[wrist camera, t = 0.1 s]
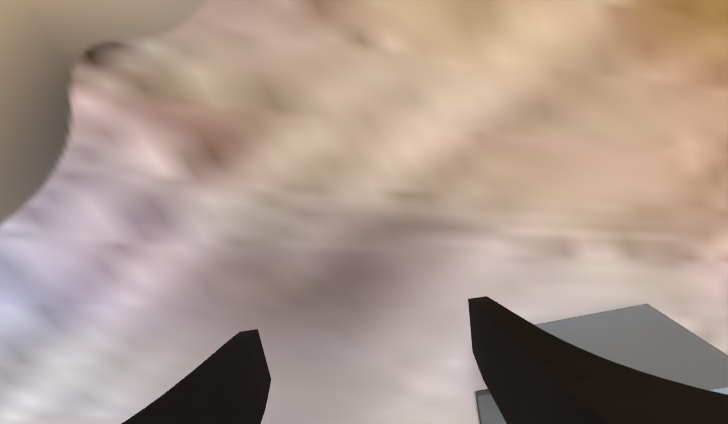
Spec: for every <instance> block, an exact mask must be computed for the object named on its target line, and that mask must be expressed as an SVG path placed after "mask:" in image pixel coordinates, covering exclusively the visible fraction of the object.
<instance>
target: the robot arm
mask: <svg viewBox="0 0 728 424" xmlns="http://www.w3.org/2000/svg"><path fill="white" fill-rule="evenodd" d="M468 302H469V314H470V326H471V338H472V349H473V354H474V356H475V359H476V362H477V364H478V367H479V370H480V372H481V375H482V377H483V380H484V382H485V384H486V385H487V387H488V389H489V391H490V393H491V395H492V397H493V399H494V401H495V403H496V405H497V406H498V408H499V410H500V412H501V414H502V416H503V418H504V420H505V422H506V423H507V424H728V394H723V393H719V392H714V391H710V390H705V389H701V388H697V387H693V386H690V385H686V384H682V383H679V382H675V381H671V380H668V379H664V378H661V377H658V376H654V375H651V374H648V373H645V372H642V371H639V370H636V369H633V368H630V367H627V366H624V365H621V364H619V363H616V362H613V361H610V360H608V359H605V358H603V357H600V356H598V355H595V354H593V353H591V352H588V351H586V350H583V349H581V348H579V347H576V346H574V345H572V344H570V343H568V342H566V341H564V340H562V339H560V338H558V337H556V336H554V335H552V334H550V333H548V332H546V331H544V330H542V329H541V328H539V327H537V326H535V325H533V324H532V323H530V322H528V321H526V320H525V319H523V318H521V317H520V316H518V315H516V314H515V313H513V312H511V311H510V310H508V309H507V308H505V307H503V306H502V305H500V304H499V303H497V302H495V301H494V300H492V299H490V298H488V297H487V296H486V297H479V298H472V299H468ZM270 383H271V377H270V373H269V370H268V366H267V362H266V359H265V355H264V351H263V347H262V344H261V340H260V336H259V333H258V329H257V330H250V331H243V332H239V333H238V334H237V335H235V336H234V337H233V338H231V339H230V340H229V341H228V342H227V343H225V344H224V345H223V346H222V347H221V348H219V349H218V350H217V351H216V352H215V353H214V354H212V355H211V356H210V357H209V358H208V359H207V360H205V361H204V362H203V363H202V364H201V365H200V366H198V367H197V368H196V369H195V370H194V371H192V372H191V373H190V374H189V375H187V376H186V377H185V378H184V379H182V380H181V381H180V382H179V383H177V384H176V385H175V386H174V387H172V388H171V389H170V390H169V391H167V392H166V393H165V394H163V395H162V396H161V397H159V398H158V399H157V400H155V401H154V402H153V403H151V404H150V405H148V406H147V407H146V408H144V409H143V410H141V411H140V412H138V413H137V414H135V415H134V416H132V417H131V418H130V419H128V420H126V421H125V422H123V423H122V424H261V421H262V418H263V414H264V411H265V408H266V403H267V398H268V393H269V388H270Z"/></svg>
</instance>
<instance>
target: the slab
mask: <svg viewBox="0 0 728 424" xmlns="http://www.w3.org/2000/svg"><path fill="white" fill-rule="evenodd" d="M535 326H537V327H539V328H541V329H542V330H544V331H546V332H548V333H550V334H552V335H554V336H556V337H558V338H560V339H562V340H564V341H566V342H568V343H570V344H572V345H574V346H576V347H579V348H581V349H583V350H586V351H588V352H591V353H593V354H595V355H598V356H600V357H603V358H605V359H608V360H610V361H613V362H616V363H619V364H621V365H624V366H627V367H630V368H633V369H636V370H639V371H642V372H645V373H648V374H651V375H654V376H658V377H661V378H664V379H668V380H671V381H675V382H679V383H682V384H686V385H690V386H693V387H697V388H701V389H705V390H710V391H714V392H719V393H723V394H728V355H726V354H725V353H723V352H722V351H720V350H719V349H717V348H716V347H714V346H712V345H711V344H709V343H708V342H706V341H705V340H703V339H702V338H700V337H698V336H697V335H695V334H694V333H692V332H691V331H689V330H687V329H686V328H684V327H683V326H681V325H680V324H678V323H677V322H675V321H673V320H672V319H670V318H669V317H667V316H666V315H664V314H663V313H661V312H659V311H658V310H656V309H655V308H653V307H652V306H650V305H649V304H643V305H638V306H633V307H627V308H622V309H616V310H611V311H606V312H600V313H595V314H590V315H584V316H579V317H574V318H568V319H563V320H558V321H552V322H547V323H542V324H536V325H535Z"/></svg>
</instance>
